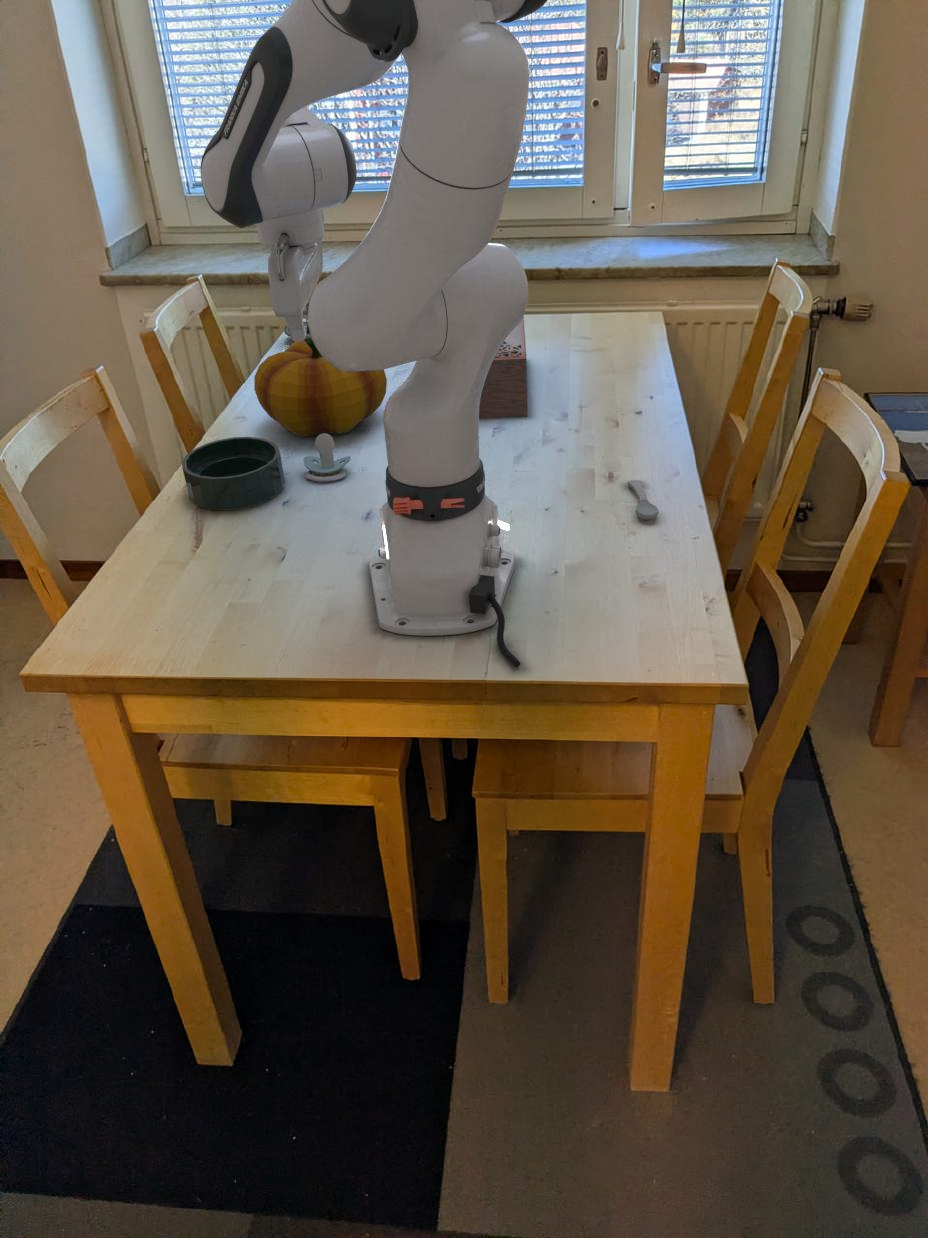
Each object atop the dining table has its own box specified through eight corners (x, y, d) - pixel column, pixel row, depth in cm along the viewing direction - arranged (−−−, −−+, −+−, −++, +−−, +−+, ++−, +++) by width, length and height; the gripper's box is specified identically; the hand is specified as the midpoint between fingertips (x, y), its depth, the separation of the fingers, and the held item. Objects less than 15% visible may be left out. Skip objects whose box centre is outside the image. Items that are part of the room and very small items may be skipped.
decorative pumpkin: (390, 442, 159) (380, 352, 150) (254, 452, 159) (236, 363, 150) (391, 395, 175) (382, 311, 167) (268, 404, 175) (253, 321, 167)
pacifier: (345, 485, 148) (355, 466, 152) (339, 447, 144) (349, 429, 149) (298, 484, 149) (309, 465, 153) (291, 446, 145) (303, 428, 150)
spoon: (638, 524, 132) (638, 510, 131) (623, 489, 143) (623, 477, 142) (660, 523, 132) (661, 509, 131) (643, 488, 143) (644, 475, 142)
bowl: (275, 511, 142) (269, 476, 139) (179, 514, 142) (170, 480, 139) (292, 467, 153) (286, 434, 150) (203, 471, 154) (195, 438, 151)
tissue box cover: (527, 416, 164) (526, 358, 159) (441, 420, 165) (437, 362, 160) (524, 361, 186) (523, 309, 180) (448, 365, 186) (444, 312, 181)
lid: (283, 342, 207) (274, 321, 204) (324, 321, 209) (315, 300, 206) (301, 358, 200) (292, 336, 196) (343, 336, 202) (335, 314, 198)
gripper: (300, 244, 121) (316, 353, 129) (324, 205, 138) (336, 304, 146) (250, 246, 121) (268, 355, 129) (280, 208, 138) (294, 306, 146)
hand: (305, 328), depth 138 cm, fingers open, 8 cm apart
